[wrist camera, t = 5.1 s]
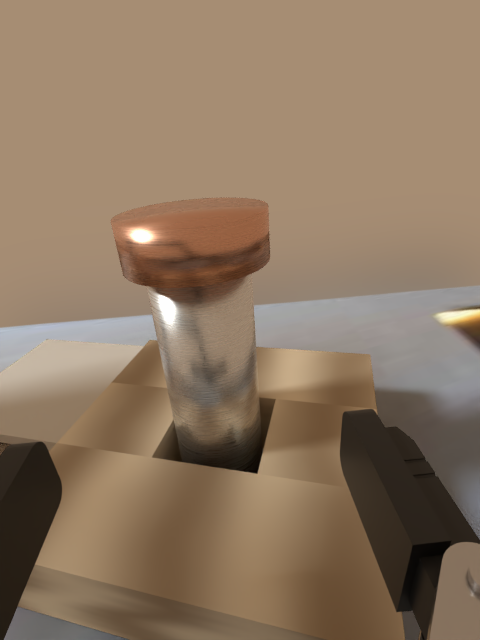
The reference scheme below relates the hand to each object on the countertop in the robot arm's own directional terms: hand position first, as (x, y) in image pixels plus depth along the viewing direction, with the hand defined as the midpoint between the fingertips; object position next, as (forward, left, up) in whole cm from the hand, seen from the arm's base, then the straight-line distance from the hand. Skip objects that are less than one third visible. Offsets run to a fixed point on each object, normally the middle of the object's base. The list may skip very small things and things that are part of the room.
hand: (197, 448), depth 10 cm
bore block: (-2, +7, -10) cm, 12 cm away
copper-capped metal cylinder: (-2, +7, -10) cm, 12 cm away
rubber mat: (-18, +13, -10) cm, 24 cm away
